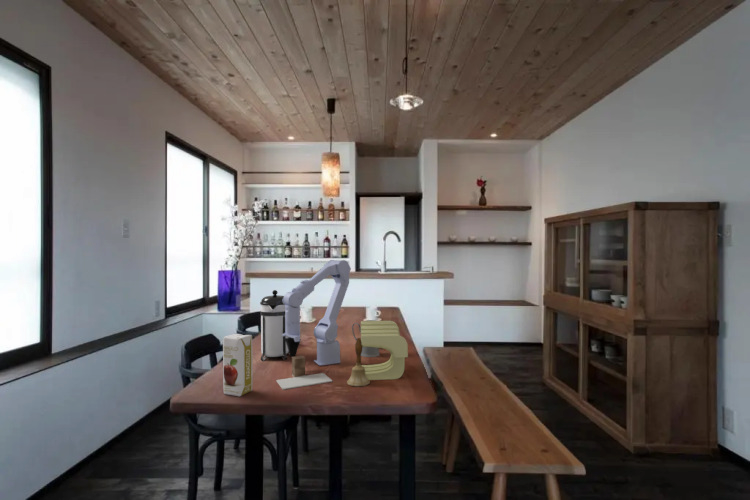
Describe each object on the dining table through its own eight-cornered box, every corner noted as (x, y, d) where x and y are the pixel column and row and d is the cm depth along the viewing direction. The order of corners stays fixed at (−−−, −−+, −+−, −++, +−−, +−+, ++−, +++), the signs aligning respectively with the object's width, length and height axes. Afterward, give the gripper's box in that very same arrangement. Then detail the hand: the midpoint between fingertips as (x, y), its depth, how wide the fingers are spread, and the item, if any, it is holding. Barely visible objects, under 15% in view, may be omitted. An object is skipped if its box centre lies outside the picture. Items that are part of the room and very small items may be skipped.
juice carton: (235, 387, 138) (235, 332, 138) (255, 390, 134) (255, 334, 134) (219, 394, 131) (219, 337, 131) (240, 398, 127) (240, 339, 127)
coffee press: (300, 356, 178) (300, 289, 178) (270, 363, 166) (270, 292, 166) (278, 349, 189) (278, 287, 189) (248, 356, 177) (248, 290, 177)
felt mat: (323, 374, 152) (323, 372, 152) (332, 381, 143) (332, 380, 143) (276, 381, 144) (276, 380, 144) (282, 389, 135) (282, 388, 135)
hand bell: (358, 377, 147) (358, 334, 147) (374, 382, 141) (374, 338, 142) (342, 382, 141) (341, 338, 141) (358, 388, 135) (357, 342, 136)
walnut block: (302, 373, 153) (302, 355, 153) (305, 376, 149) (305, 357, 149) (292, 375, 151) (291, 356, 151) (294, 378, 147) (294, 359, 147)
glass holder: (373, 358, 174) (372, 324, 174) (347, 353, 181) (346, 321, 181) (383, 353, 181) (383, 321, 181) (357, 349, 189) (357, 318, 189)
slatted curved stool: (407, 386, 137) (407, 335, 137) (362, 388, 136) (361, 336, 136) (398, 362, 167) (398, 320, 167) (360, 363, 166) (360, 320, 166)
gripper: (278, 320, 162) (278, 353, 162) (287, 326, 149) (287, 362, 149) (295, 318, 165) (295, 351, 165) (305, 324, 152) (305, 359, 152)
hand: (292, 356), depth 157 cm, fingers closed
